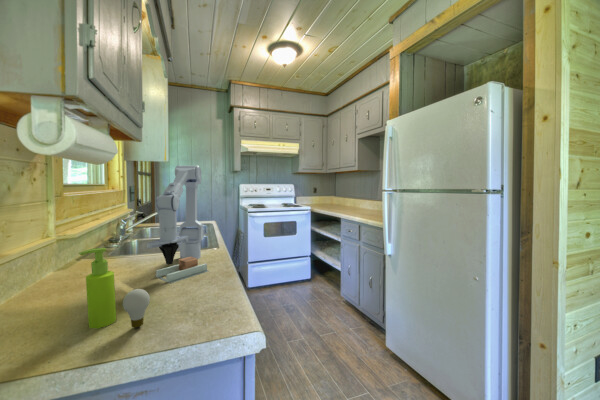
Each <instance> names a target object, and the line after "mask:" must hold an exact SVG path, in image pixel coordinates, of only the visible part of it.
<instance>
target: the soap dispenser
mask: <svg viewBox="0 0 600 400" xmlns="http://www.w3.org/2000/svg"><path fill="white" fill-rule="evenodd" d="M104 252H107V248H105V247H96V248H90V249H84V250H82V251H80V252H78V254H79V256H86V255H88V254H92V253H94V260H93V261H91V266H90V267H91V273H89V274H88V275H86V276H85V285H86V286H85V287H86V303H87V320H88V328H89V329H92V328H97V329H102V328H101V327H103V328H106V327H108V325H109V326H110V324H111V325H113V324H114V323H116V321H117V309H116V308H117V306H116V289H115V285H116V284H115V272H114V271H112V270H109V265H108V263H109V262H108V260H107V259H105V258H104ZM105 326H106V327H105Z"/></svg>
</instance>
